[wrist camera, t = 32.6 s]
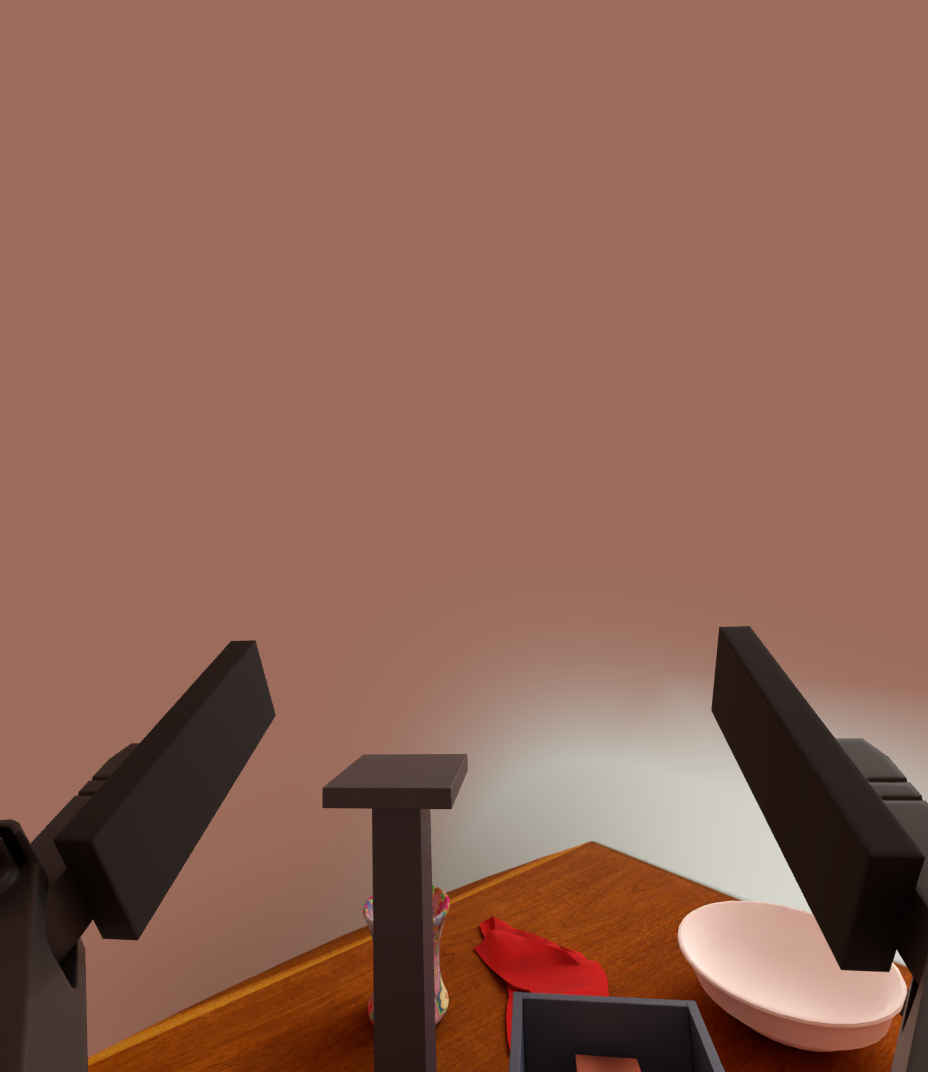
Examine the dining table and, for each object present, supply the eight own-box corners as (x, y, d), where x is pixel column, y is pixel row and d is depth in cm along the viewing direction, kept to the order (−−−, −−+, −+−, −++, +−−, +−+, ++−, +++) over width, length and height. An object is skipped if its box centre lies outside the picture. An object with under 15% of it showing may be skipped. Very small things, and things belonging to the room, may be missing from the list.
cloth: (662, 1066, 49) (660, 1037, 49) (516, 1092, 47) (515, 1063, 47) (564, 914, 74) (563, 896, 75) (467, 926, 72) (466, 908, 72)
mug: (361, 992, 60) (360, 889, 61) (442, 976, 62) (440, 877, 64) (369, 1081, 48) (368, 951, 50) (468, 1057, 51) (465, 933, 52)
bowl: (680, 946, 66) (675, 889, 67) (871, 977, 59) (863, 914, 60) (686, 1075, 48) (679, 995, 49) (965, 1142, 41) (951, 1048, 42)
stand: (299, 1241, 36) (304, 791, 40) (357, 1087, 48) (356, 751, 52) (477, 1261, 35) (462, 792, 39) (491, 1097, 46) (479, 751, 51)
